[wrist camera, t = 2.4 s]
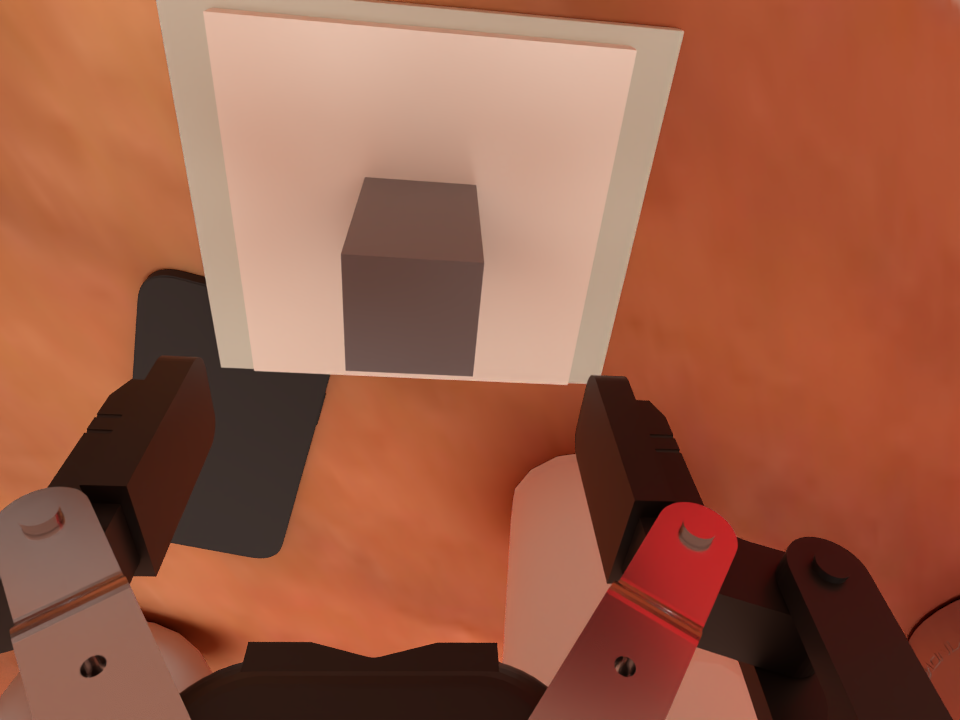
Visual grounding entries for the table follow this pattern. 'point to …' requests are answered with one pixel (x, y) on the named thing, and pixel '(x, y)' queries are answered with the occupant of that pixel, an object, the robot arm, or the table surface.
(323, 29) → the lid
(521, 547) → the foam cup
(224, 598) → the table surface
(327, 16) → the mat
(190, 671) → the donut
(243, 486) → the phone
